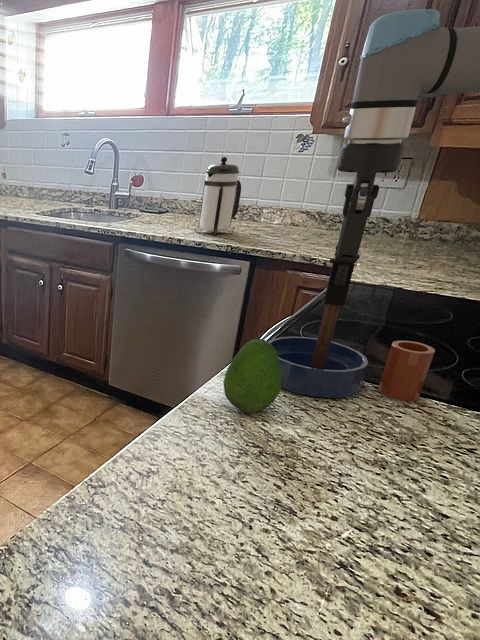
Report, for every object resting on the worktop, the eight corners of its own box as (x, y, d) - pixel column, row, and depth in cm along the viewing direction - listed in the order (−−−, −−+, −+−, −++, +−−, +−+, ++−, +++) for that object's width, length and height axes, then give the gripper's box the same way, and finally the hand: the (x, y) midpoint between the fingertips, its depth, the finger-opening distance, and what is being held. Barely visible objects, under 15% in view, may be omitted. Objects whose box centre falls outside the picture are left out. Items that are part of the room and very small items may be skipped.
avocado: (254, 427, 78) (269, 352, 73) (209, 406, 84) (221, 336, 79) (285, 412, 82) (301, 341, 77) (240, 393, 88) (253, 326, 83)
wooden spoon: (309, 370, 90) (343, 228, 81) (322, 372, 89) (358, 229, 80) (308, 377, 88) (343, 232, 78) (322, 379, 87) (359, 233, 77)
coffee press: (235, 237, 212) (248, 157, 200) (194, 235, 217) (204, 157, 205) (234, 229, 227) (246, 155, 215) (195, 228, 232) (205, 155, 220)
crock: (396, 388, 88) (412, 339, 85) (426, 404, 83) (444, 352, 80) (368, 391, 88) (383, 341, 84) (396, 407, 83) (413, 354, 79)
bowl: (315, 361, 99) (322, 334, 97) (381, 397, 86) (391, 367, 83) (242, 367, 97) (247, 339, 95) (297, 406, 83) (305, 375, 81)
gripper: (342, 140, 81) (309, 287, 91) (342, 143, 70) (304, 311, 79) (401, 140, 78) (360, 293, 87) (411, 143, 66) (363, 319, 76)
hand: (334, 301), depth 83 cm, fingers closed on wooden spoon, 2 cm apart
